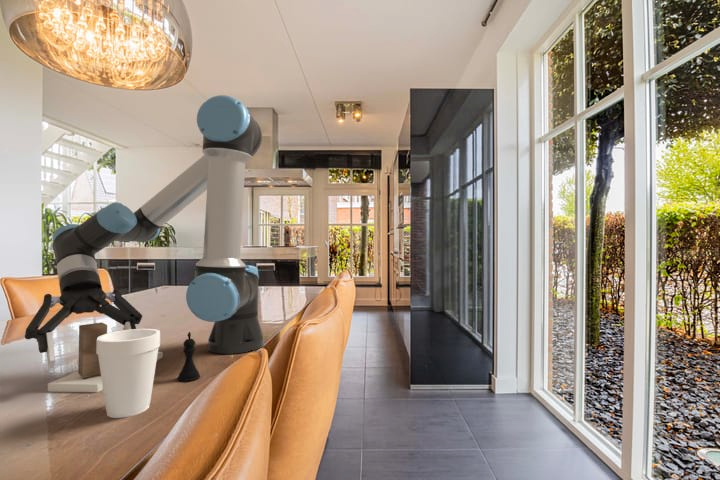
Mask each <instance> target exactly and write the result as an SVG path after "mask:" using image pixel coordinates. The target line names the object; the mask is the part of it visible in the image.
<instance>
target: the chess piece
mask: <svg viewBox="0 0 720 480" xmlns="http://www.w3.org/2000/svg"><path fill="white" fill-rule="evenodd" d="M191 334H192V333H191V332H190V331H189V332H188V333H187V337H188V338H187V339H185V340H184V342H183V343H182V344H183V346H184V347H183V348H184V349H183V350H182V351H183V353H184V356H185V361H184V365H183V366H182V369H181V371H180V372H179V374H178V377H177V382H179V383H190V382H194V381H197V380H199V379H200V378H201V374H200V371H199V370H198V369H197V367H196V365H195V362H194V361H193V360H194V359H193V358H194V353H195V351H196V348H195V345H196V341H195V340H194V339H193V338H191Z"/></svg>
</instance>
